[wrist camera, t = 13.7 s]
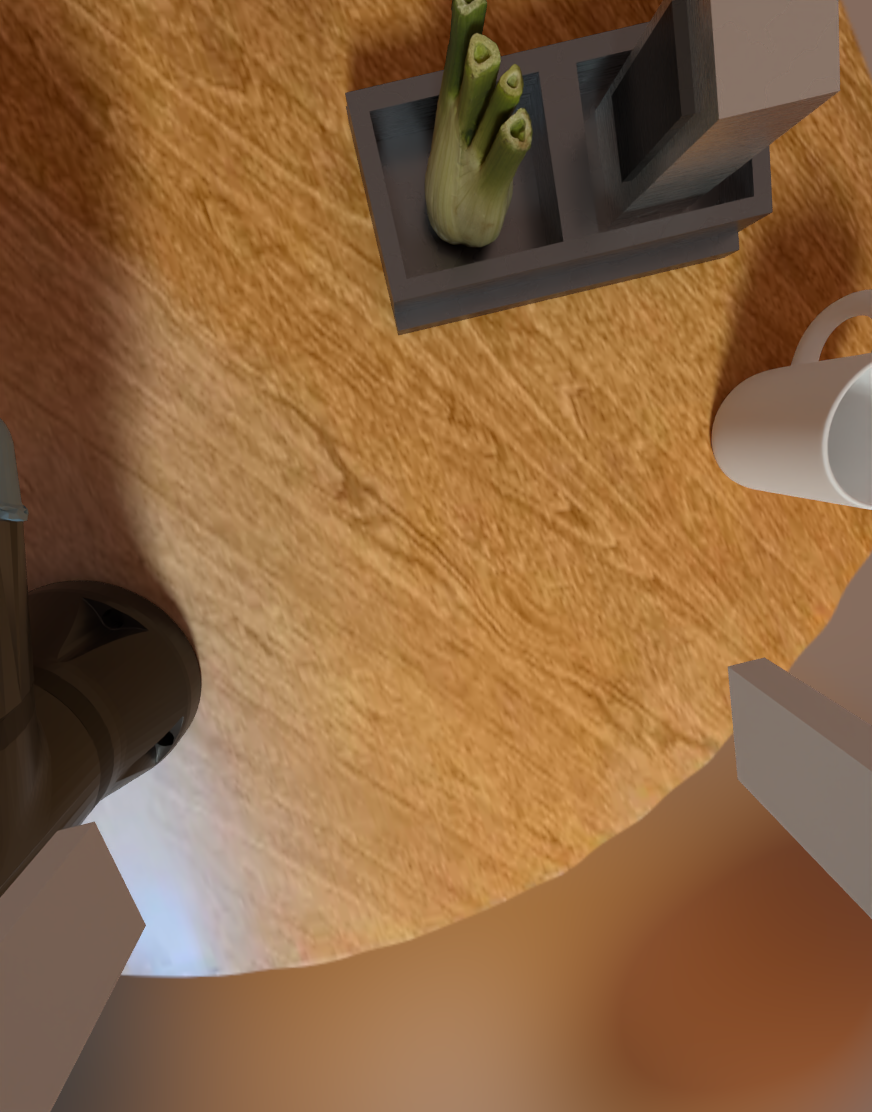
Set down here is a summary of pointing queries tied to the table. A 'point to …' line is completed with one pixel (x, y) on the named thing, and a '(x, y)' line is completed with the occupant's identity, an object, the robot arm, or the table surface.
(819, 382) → the mug
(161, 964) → the table surface
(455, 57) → the fennel bulb
